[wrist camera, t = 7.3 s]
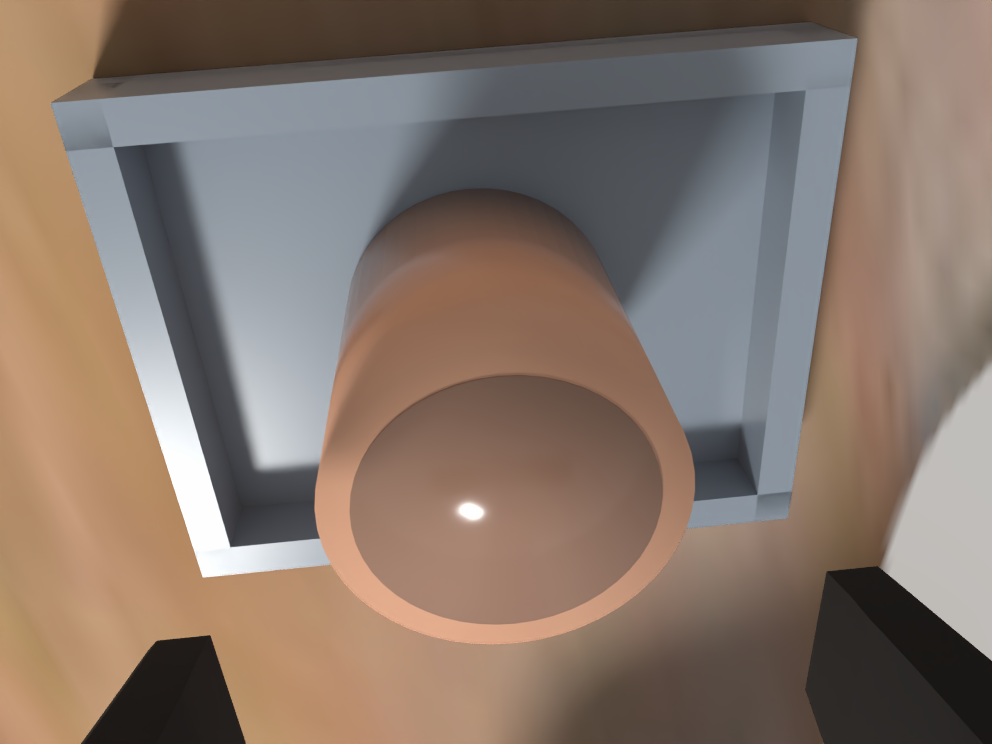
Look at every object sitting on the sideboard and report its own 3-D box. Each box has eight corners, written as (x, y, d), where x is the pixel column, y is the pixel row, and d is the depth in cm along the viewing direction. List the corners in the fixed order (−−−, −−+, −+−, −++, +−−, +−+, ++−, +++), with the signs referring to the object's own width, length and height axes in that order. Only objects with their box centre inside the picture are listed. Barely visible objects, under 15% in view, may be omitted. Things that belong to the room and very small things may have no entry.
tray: (758, 467, 21) (787, 518, 20) (220, 520, 21) (203, 577, 19) (810, 21, 16) (857, 38, 14) (91, 78, 16) (50, 102, 14)
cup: (608, 412, 20) (686, 626, 14) (367, 436, 19) (346, 663, 14) (609, 175, 17) (707, 324, 11) (327, 201, 17) (279, 365, 11)
